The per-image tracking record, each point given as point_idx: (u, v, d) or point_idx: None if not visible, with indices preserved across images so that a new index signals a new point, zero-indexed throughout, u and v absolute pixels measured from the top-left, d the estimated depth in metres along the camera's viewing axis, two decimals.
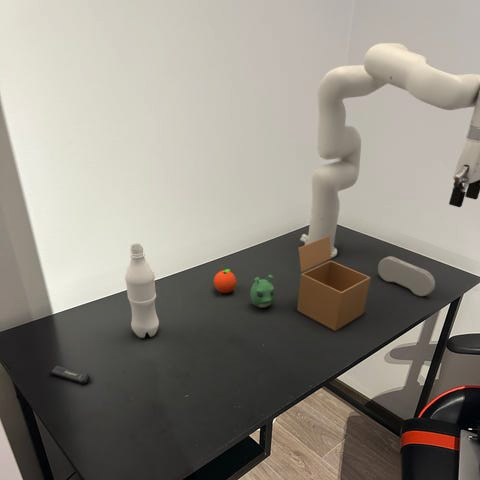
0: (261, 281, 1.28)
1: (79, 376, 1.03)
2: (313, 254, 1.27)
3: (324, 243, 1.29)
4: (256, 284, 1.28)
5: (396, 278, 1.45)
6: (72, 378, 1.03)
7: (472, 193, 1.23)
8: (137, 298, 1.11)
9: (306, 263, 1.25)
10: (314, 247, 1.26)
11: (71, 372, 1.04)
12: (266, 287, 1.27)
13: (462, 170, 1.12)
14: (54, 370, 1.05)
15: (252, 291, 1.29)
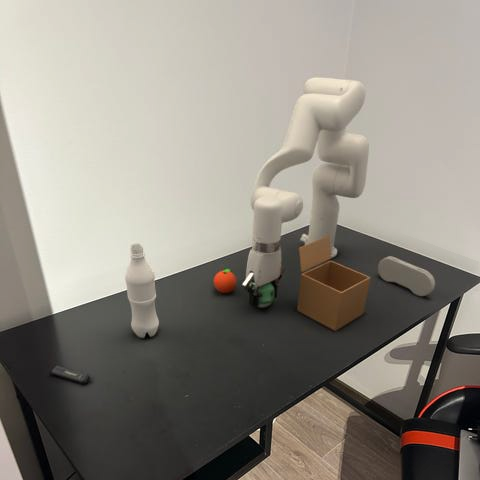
0: None
1: (79, 376, 1.03)
2: (313, 254, 1.27)
3: (324, 243, 1.29)
4: None
5: (396, 278, 1.45)
6: (72, 378, 1.03)
7: None
8: (137, 298, 1.11)
9: (306, 263, 1.25)
10: (314, 247, 1.26)
11: (71, 372, 1.04)
12: (266, 287, 1.27)
13: (248, 278, 1.23)
14: (54, 370, 1.05)
15: None
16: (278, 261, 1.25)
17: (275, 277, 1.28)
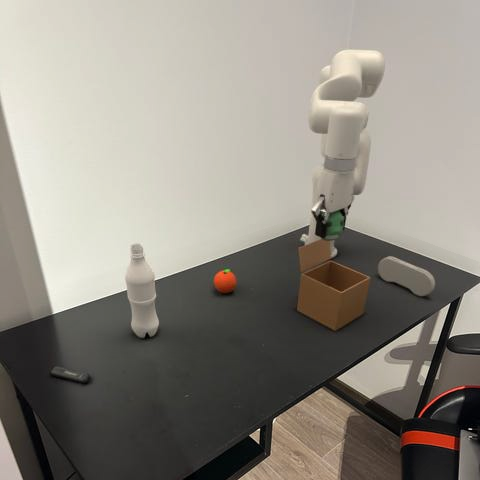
0: None
1: (80, 376, 1.03)
2: (313, 254, 1.27)
3: (324, 243, 1.29)
4: None
5: (396, 278, 1.45)
6: (72, 378, 1.03)
7: None
8: (137, 298, 1.11)
9: (306, 263, 1.25)
10: (314, 247, 1.26)
11: (71, 372, 1.04)
12: (336, 215, 1.14)
13: (318, 202, 1.10)
14: (54, 371, 1.05)
15: None
16: (351, 185, 1.12)
17: (346, 204, 1.14)
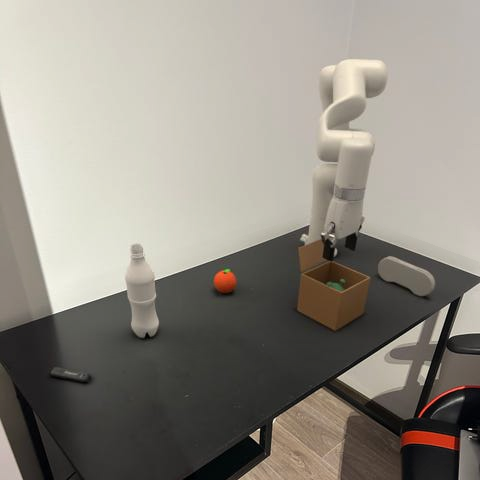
0: (333, 286, 1.26)
1: (80, 375, 1.03)
2: (313, 254, 1.27)
3: None
4: None
5: (396, 278, 1.45)
6: (73, 378, 1.03)
7: (350, 244, 1.23)
8: (137, 298, 1.11)
9: (306, 263, 1.25)
10: (314, 247, 1.26)
11: (71, 372, 1.04)
12: None
13: (328, 227, 1.13)
14: (53, 371, 1.04)
15: None
16: (360, 212, 1.15)
17: (355, 230, 1.18)
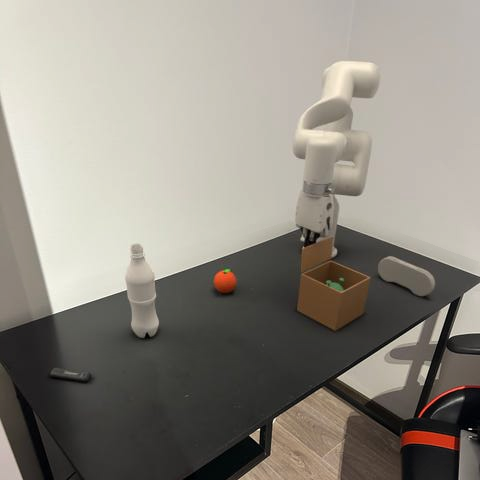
0: (332, 284, 1.27)
1: (81, 375, 1.03)
2: (315, 254, 1.26)
3: (327, 244, 1.28)
4: None
5: (396, 278, 1.45)
6: (73, 378, 1.03)
7: None
8: (137, 298, 1.11)
9: (307, 263, 1.25)
10: (317, 248, 1.26)
11: (71, 372, 1.04)
12: (338, 290, 1.26)
13: None
14: (53, 372, 1.04)
15: None
16: (317, 211, 1.18)
17: (314, 228, 1.22)
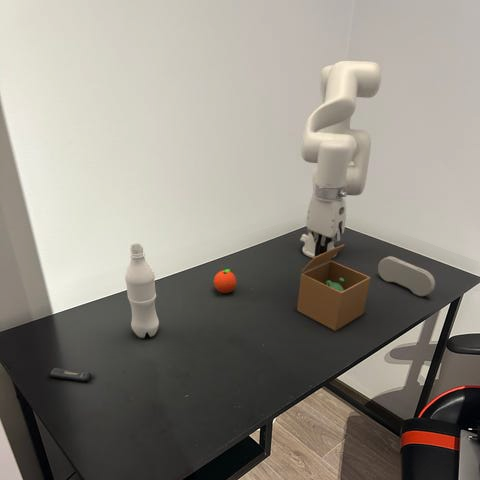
0: (332, 284, 1.27)
1: (81, 375, 1.03)
2: (321, 259, 1.25)
3: (335, 250, 1.27)
4: None
5: (396, 278, 1.45)
6: (74, 377, 1.03)
7: None
8: (137, 298, 1.11)
9: (310, 266, 1.25)
10: (326, 255, 1.24)
11: (71, 372, 1.04)
12: (338, 290, 1.26)
13: None
14: (53, 372, 1.04)
15: None
16: (329, 216, 1.16)
17: (326, 233, 1.19)
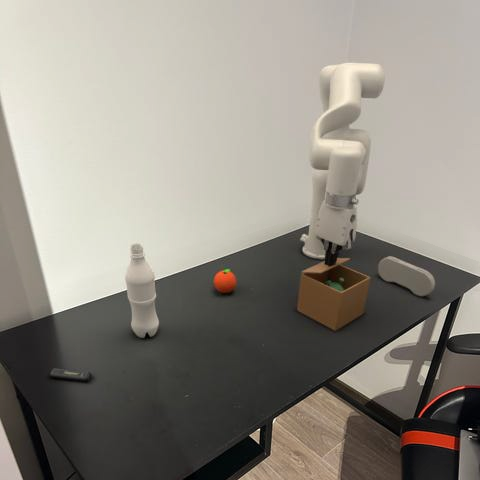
0: (332, 284, 1.27)
1: (81, 374, 1.03)
2: None
3: None
4: None
5: (396, 278, 1.45)
6: (74, 377, 1.03)
7: None
8: (137, 298, 1.11)
9: None
10: None
11: (71, 372, 1.04)
12: (338, 290, 1.26)
13: None
14: (52, 372, 1.04)
15: None
16: (340, 224, 1.14)
17: (336, 241, 1.18)
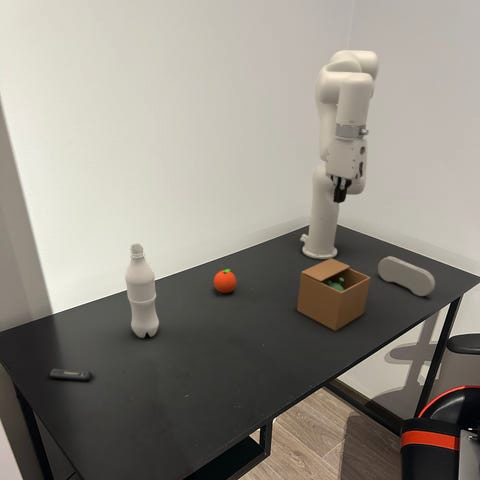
0: (332, 284, 1.27)
1: (81, 374, 1.04)
2: None
3: None
4: None
5: (396, 278, 1.45)
6: (74, 377, 1.03)
7: None
8: (137, 298, 1.11)
9: None
10: None
11: (71, 372, 1.04)
12: (338, 290, 1.26)
13: None
14: (52, 373, 1.04)
15: None
16: (350, 156, 1.15)
17: (346, 175, 1.18)
